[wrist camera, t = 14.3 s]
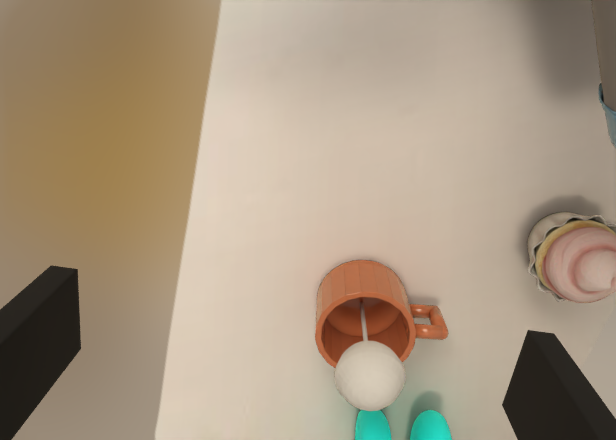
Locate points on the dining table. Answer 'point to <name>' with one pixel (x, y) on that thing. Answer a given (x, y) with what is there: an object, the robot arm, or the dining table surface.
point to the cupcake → (573, 257)
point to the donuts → (424, 435)
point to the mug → (370, 311)
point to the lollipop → (369, 373)
